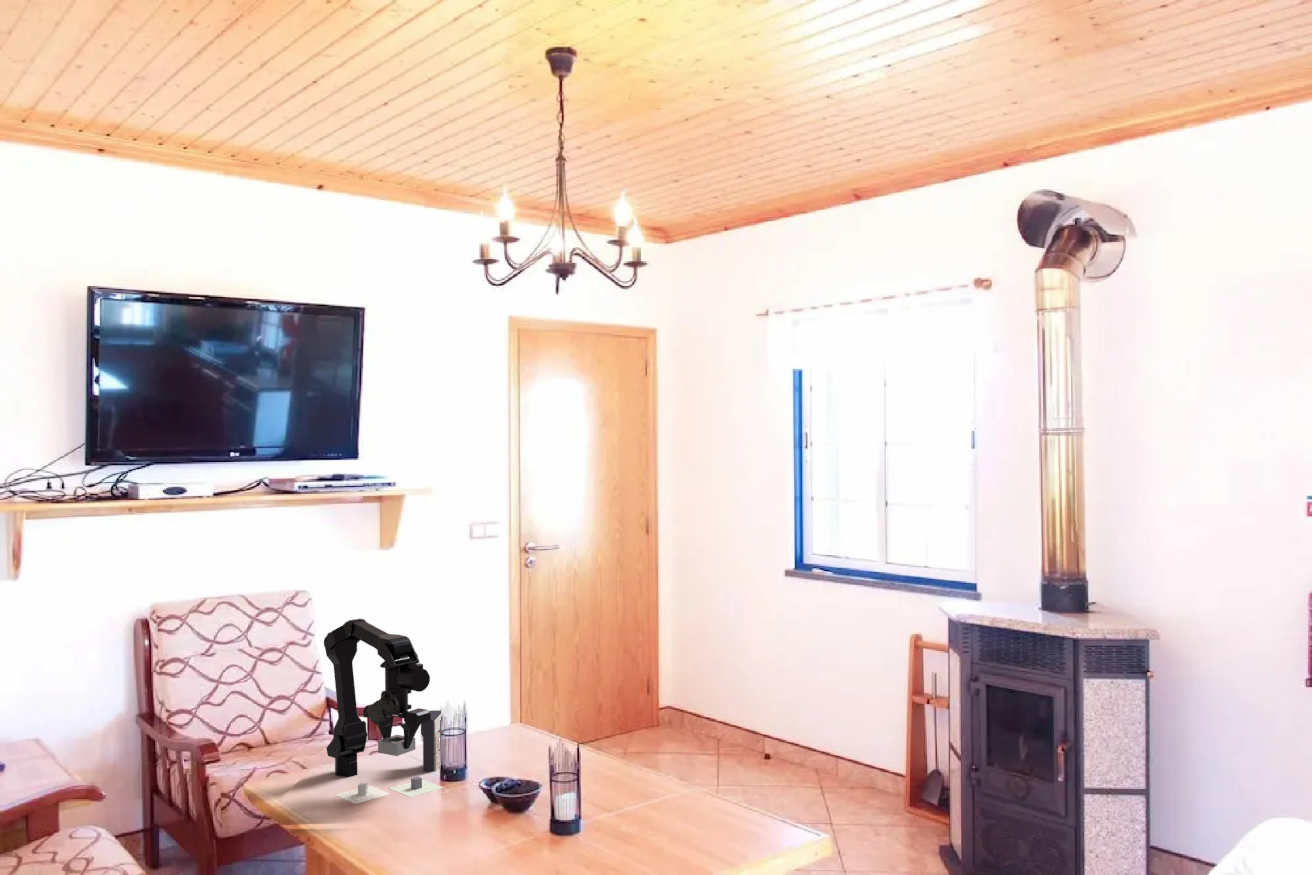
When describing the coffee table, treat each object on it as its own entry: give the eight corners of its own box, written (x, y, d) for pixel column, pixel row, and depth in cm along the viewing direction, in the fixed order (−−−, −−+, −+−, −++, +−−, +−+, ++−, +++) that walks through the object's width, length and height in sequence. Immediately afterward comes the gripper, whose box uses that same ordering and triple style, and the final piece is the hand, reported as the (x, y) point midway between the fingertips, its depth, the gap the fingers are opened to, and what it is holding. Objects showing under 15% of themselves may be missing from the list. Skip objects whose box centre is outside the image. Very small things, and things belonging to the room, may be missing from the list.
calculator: (436, 775, 277) (436, 720, 277) (420, 775, 277) (420, 720, 277) (445, 762, 288) (445, 709, 288) (430, 762, 288) (430, 709, 288)
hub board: (389, 792, 263) (389, 778, 263) (422, 782, 270) (422, 769, 270) (410, 801, 256) (410, 787, 256) (443, 791, 263) (443, 777, 263)
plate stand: (334, 798, 258) (334, 784, 258) (369, 788, 265) (369, 775, 266) (355, 807, 251) (355, 793, 251) (390, 797, 259) (390, 783, 259)
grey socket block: (378, 752, 260) (377, 740, 260) (396, 746, 266) (396, 734, 266) (396, 756, 257) (396, 744, 257) (415, 749, 262) (415, 737, 262)
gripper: (347, 688, 259) (347, 750, 259) (400, 696, 250) (401, 760, 250) (379, 680, 269) (379, 739, 269) (431, 687, 260) (432, 748, 259)
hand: (397, 746), depth 261 cm, fingers closed on grey socket block, 7 cm apart
